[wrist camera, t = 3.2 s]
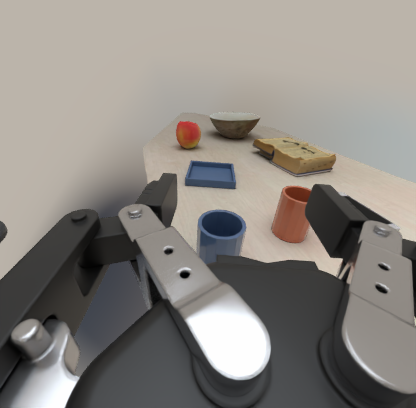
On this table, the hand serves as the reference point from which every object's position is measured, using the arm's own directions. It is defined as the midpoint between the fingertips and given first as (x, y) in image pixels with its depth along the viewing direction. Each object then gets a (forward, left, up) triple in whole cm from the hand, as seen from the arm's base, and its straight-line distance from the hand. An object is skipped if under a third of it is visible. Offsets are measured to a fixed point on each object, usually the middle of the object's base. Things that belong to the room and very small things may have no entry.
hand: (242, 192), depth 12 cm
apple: (-12, +70, -19) cm, 74 cm away
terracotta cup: (+14, +21, -19) cm, 32 cm away
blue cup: (0, +11, -19) cm, 22 cm away
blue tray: (-2, +44, -19) cm, 48 cm away
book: (+26, +63, -19) cm, 71 cm away
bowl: (+7, +94, -19) cm, 96 cm away
